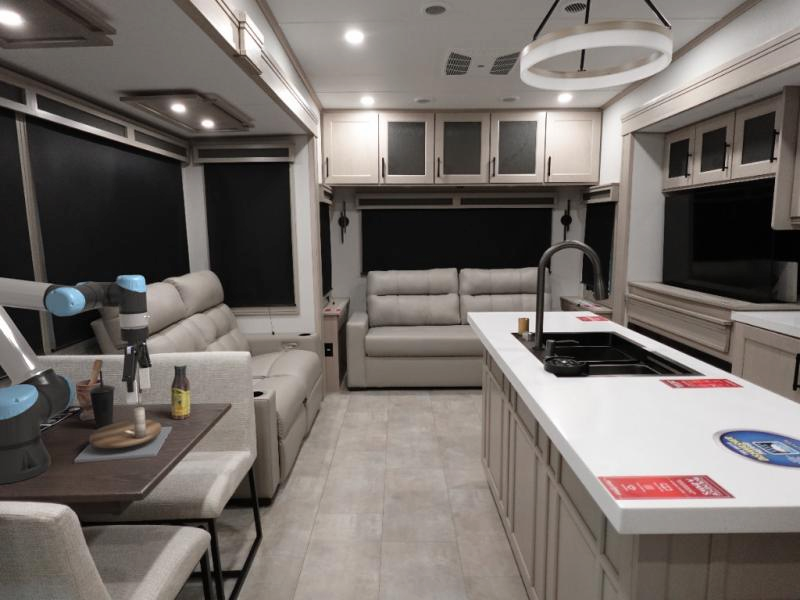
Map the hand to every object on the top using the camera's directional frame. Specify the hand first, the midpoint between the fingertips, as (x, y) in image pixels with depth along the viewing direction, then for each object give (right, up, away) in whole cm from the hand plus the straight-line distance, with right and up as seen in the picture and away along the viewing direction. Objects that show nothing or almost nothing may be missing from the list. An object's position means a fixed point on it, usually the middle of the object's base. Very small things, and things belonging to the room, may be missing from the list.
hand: (139, 395), depth 153 cm
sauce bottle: (0, -14, +30) cm, 34 cm away
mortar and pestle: (-33, -14, +31) cm, 48 cm away
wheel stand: (-7, -17, +6) cm, 19 cm away
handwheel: (-7, -16, +6) cm, 18 cm away
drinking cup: (-23, -15, +20) cm, 34 cm away
